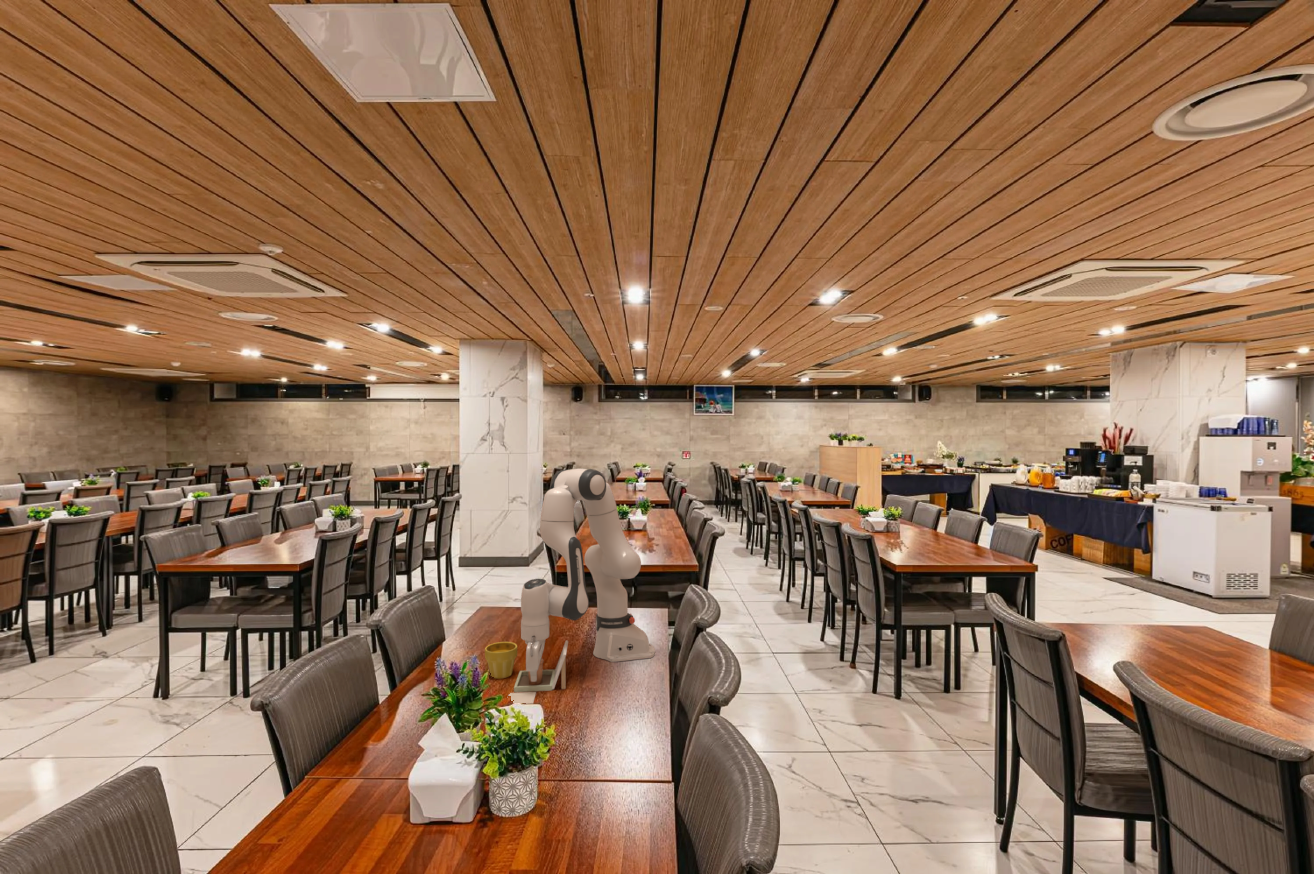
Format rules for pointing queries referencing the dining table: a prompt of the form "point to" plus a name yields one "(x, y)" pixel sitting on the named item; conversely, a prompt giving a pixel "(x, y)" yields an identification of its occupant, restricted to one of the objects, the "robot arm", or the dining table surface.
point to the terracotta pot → (539, 675)
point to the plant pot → (501, 658)
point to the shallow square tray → (524, 686)
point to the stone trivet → (523, 697)
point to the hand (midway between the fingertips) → (535, 675)
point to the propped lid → (561, 668)
